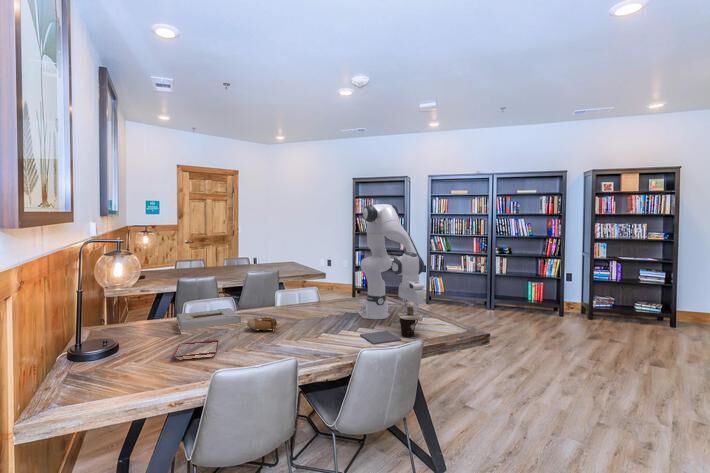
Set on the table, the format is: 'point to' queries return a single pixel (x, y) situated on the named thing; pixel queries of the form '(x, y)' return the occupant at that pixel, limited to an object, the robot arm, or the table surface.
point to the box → (207, 319)
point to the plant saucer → (199, 353)
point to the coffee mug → (407, 327)
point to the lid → (410, 314)
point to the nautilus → (263, 323)
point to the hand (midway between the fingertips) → (410, 309)
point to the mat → (380, 337)
